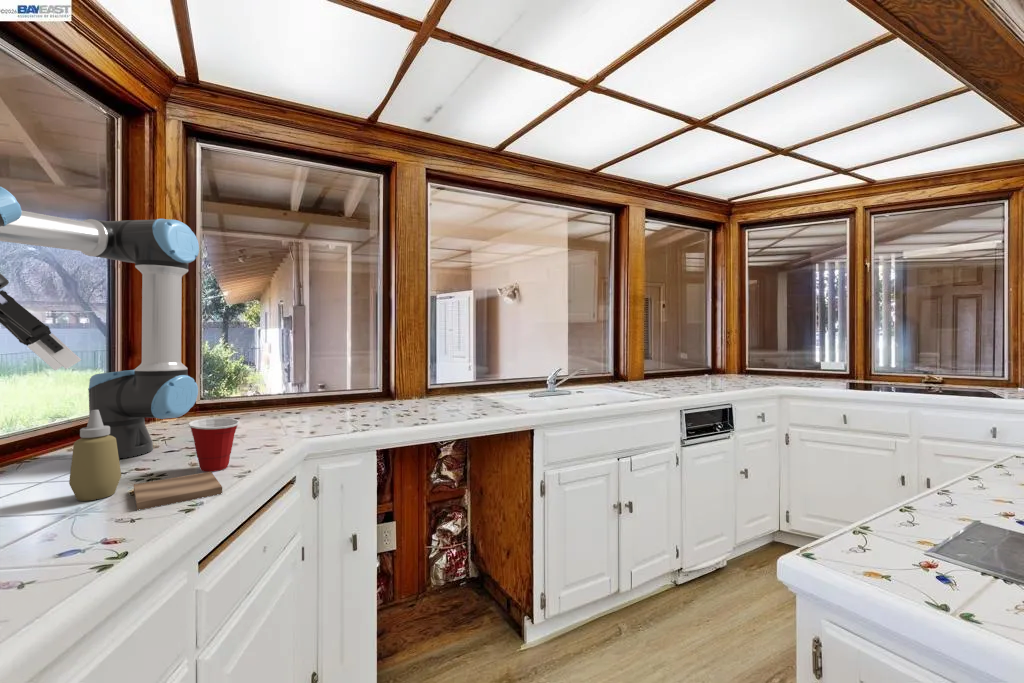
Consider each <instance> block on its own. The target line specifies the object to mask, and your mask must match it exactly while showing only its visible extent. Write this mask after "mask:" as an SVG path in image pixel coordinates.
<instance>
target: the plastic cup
mask: <svg viewBox="0 0 1024 683" xmlns="http://www.w3.org/2000/svg"><path fill="white" fill-rule="evenodd" d="M240 423H241V421H240V420H238V419H236V418H230V417H210V418H209V417H208V418H200V419H195V420H191V421H189V423H188V426H189V428H190V430H191V431H190V432H191V434H192V438H193V441H194V442H193V443H194V447H195V448H194V449H195V452H196V457H197V459H198V460H197V461H198V466H199V469H200V471H201V472H203V473H205V472H217V471H221V470H225V469H227V468H228V467H229V463H230V457H231V453H232V450H233V445H234V440H235V433H236V431H237V428H238V426H239V424H240Z"/></svg>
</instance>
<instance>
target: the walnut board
mask: <svg viewBox="0 0 1024 683" xmlns="http://www.w3.org/2000/svg"><path fill="white" fill-rule="evenodd" d="M221 493H222V494H223V486H222V484H221V483H220V481H219V480H218V479H217V477H216V476H215V475H214V473H213V471H211V472H200V473H195V474H188V475H183V476H182V475H181V476H177V477H169V478H165V479H158V480H153V481H152V480H151V481H145V482H141V483H134V484H133V496H134V495H135V496H134V500H135V501H136V502H135V501H134V502H135V506H136V507H137V508H136V511H137V510H138V511H140V510H139V509H143V510H146V509H145V508H148V509H152V508H151V507H153V508H156V507H155V506H158V507H162V506H161V505H163V506H168V505H172V504H171V503H173V504H176V502H178V503H182V501H183V502H187V501H186V500H189V501H193V500H192V499H194V500H198V499H197V498H199V499H203V498H202V497H204V498H208V497H207V496H209V497H212V496H213V495H214V496H218V495H217V494H219V495H222V494H221ZM214 496H213V497H214ZM167 504H168V505H167Z"/></svg>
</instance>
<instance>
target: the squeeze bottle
mask: <svg viewBox="0 0 1024 683" xmlns="http://www.w3.org/2000/svg"><path fill="white" fill-rule="evenodd" d="M109 434H110V426H104V425H103V422H102V419H101V415H100V412H99V410H91V413H90V417H89V416H88V420H87V425H86V427H82V428H80V429H79V437H80V438H78V439H77V440H75V441H74V442H73V447H72V448H73V449H72V456H71V463H70V464H71V465H70V472H69V481H68V483H69V486H70V489H71V490H72V492H73V494H74V496H75V498H76V500H77V501H81V502H82V501H83V502H84V501H85V502H87V501H95V500H96V499H97V500H101V499H105V498H107V497H110V496H112V495H114V494H115V493H116V491H117V489H118V488H117V487H118V486H119V483H120V481H121V478H122V470H121V464H120V459H119V455H118V449H117V442H116V438H115V437H113V436H110V435H109Z"/></svg>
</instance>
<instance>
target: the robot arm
mask: <svg viewBox="0 0 1024 683" xmlns="http://www.w3.org/2000/svg"><path fill="white" fill-rule="evenodd" d="M0 242H5V243H11V244H13V243H14V244H21V245H28V246H29V245H30V246H38V247H45V248H53V249H61V250H68V251H77V252H81V253H82V254H84V255H86V256H88V257H93V258H101V259H106V260H107V259H108V260H113V261H119V262H125V263H130V264H131V263H132V264H134V267H135V269H137V270H138V271H139V272H140V273H141V275H142V276H141V277H142V278H141V279H142V281H141V282H142V286H141V287H142V288H141V297H142V298H141V363H140V364H139V365H138V366H137V367H136V368H134V369H130V370H119V371H111V372H110V371H109V372H102V373H95V374H93V375H92V376H90V378H89V383H88V409H89V410H88V413H89V414H88V415H89V416H88V418H89V417H90V413H91V410H99V412H100V415H101V419H102V422H103V425H104V426H110V434H109V435H110V436H113V437H115V438H116V442H117V449H118V455H119V460H121V459H120V458H123V459H128V458H127V457H129V458H134V457H138V456H142V455H144V453H146V454H148V453H150V452H153V449H154V447H153V446H154V445H153V444H154V443H153V440H152V437H151V435H150V433H149V431H148V430H149V429H148V428H147V426H146V422H145V418H151V419H153V418H154V419H160V420H164V419H176V418H180V417H182V416H183V415H185V414H187V413H188V412H189V411H190V409H191V408H193V407H194V406H195V404H196V402H197V400H198V395H199V386H198V383H197V382H196V381H195V379H194V377H191V376H190V375H189V374H188V371H189V370H188V367H187V366H186V365H185V364H184V363H182V295H183V294H182V290H183V289H182V285H183V284H182V282H183V281H182V279H183V276H184V275H187V273H188V272H189V264H190V263H192V262H194V261H195V260H196V258H198V256H199V252H200V247H199V246H200V245H199V240H198V237H197V235H196V234H195V232H194V231H192V229H191V227H189V226H188V225H187V224H186V223H184V222H182V221H181V220H177V219H173V218H172V219H171V218H170V219H167V218H166V219H165V218H155V219H154V218H153V219H132V220H129V219H128V220H125V219H124V220H107V221H106V220H99V219H98V220H97V219H94V218H90V219H89V218H88V219H85V220H78V219H77V220H75V219H71V218H66V217H65V218H64V217H59V216H54V215H48V214H42V213H38V212H33V211H25V210H22V207H21V204H20V203H19V202H18V201H17V198H16V197H15V195H13V194H12V193H11V192H10V191H8V190H7V189H6V188H4V187H2V186H0ZM9 283H10V282H9V279H7V277H5V276H4V275H3V274H2V273H1V272H0V324H1V325H2V326H3V327H4V328H5V329H6V330H7V331H9V333H10V334H11V335H12V336H14V338H16V339H17V340H18V342H19V343H20V344H22V345H24V346H27V348H28V349H30V350H31V351H32V352H33V353H34V354H35V355H37V357H39V358H40V359H41V360H42V361H44V363H46V364H47V365H48V366H49V367H50V368H51V369H53V370H54V371H57V370H59V369H61V368H62V367H63V368H64V369H65V370H67V369H69V368H71V367H73V366H74V365H76V364H77V363H79V362H81V361H82V358H80V357H79V356H78V355H77V354H76V353H75V352H74V351H73V350H71V349H70V348H69V347H68V346H67V345H66V344H65V343H63V341H61V340H60V339H59V337H57V336H56V335H55V334H54V333H52V331H51V328H50V327H49V325H46V324H44V322H43V321H41V320H40V319H38V317H36V316H35V315H33V313H31V312H30V311H29V310H27V309H26V308H25V307H23V306H22V305H21V304H19V303H18V302H17V301H16V300H15V298H13V297H12V296H11V295H9V294H8V292H6V291H5V290H3V288H5V287H6V286H8V285H9ZM1 289H2V290H1ZM147 452H148V453H147ZM141 454H142V455H141ZM137 455H138V456H137ZM133 456H134V457H133Z"/></svg>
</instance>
